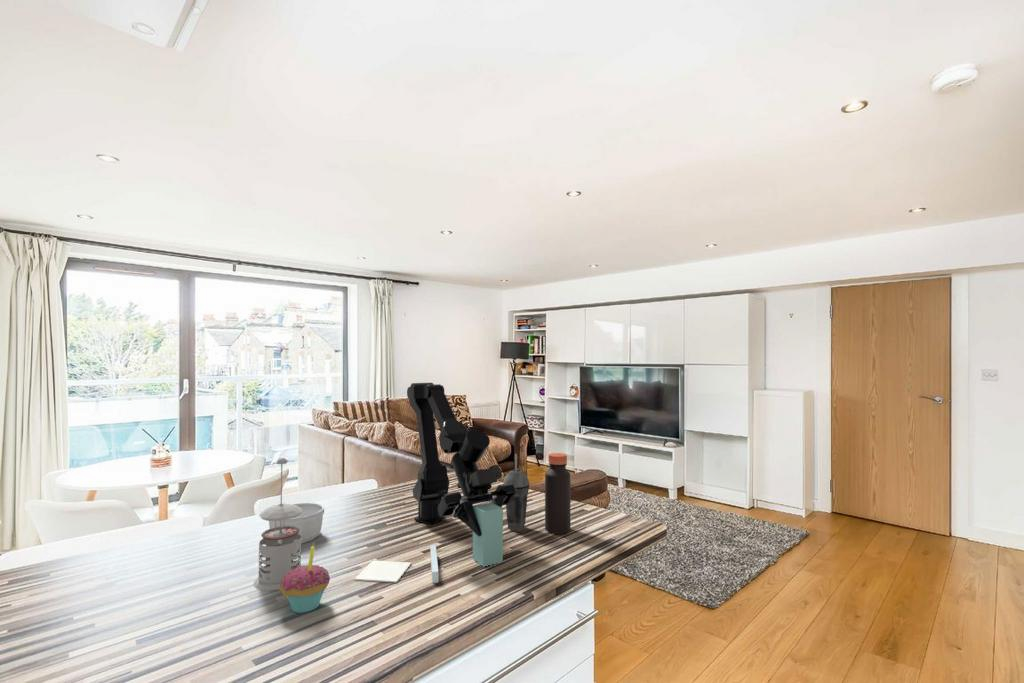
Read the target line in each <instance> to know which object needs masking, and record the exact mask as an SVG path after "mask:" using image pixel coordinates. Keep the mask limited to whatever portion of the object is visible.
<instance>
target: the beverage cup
mask: <svg viewBox="0 0 1024 683" xmlns="http://www.w3.org/2000/svg"><path fill="white" fill-rule="evenodd" d="M509 483H511V484H513V485H514V486H515V488H516V491H517V493H516V494H515V496H514V497H513V498H512V500H511V501H510V503H508V504H507V505H505V512H506V521H507V522H506V523H507V529H508V530H509V529H510V530H509V531H511V530H516V531H515V532H519V531H518V530H522V531H524V530H525V525H526V520H527V518H526V516H527V508H528V506H527V505H528V494H529V492H530V486H531V485H530V480H529V477H528V476H527V474H526V473H525V472H524V471H522V470H521V469H518V454H517V453H515V454H514V469H512V470H510V471H508V472H507V473H506V475H505V476H504V479H503V484H509ZM503 484H502V485H503ZM523 529H524V530H523Z"/></svg>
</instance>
